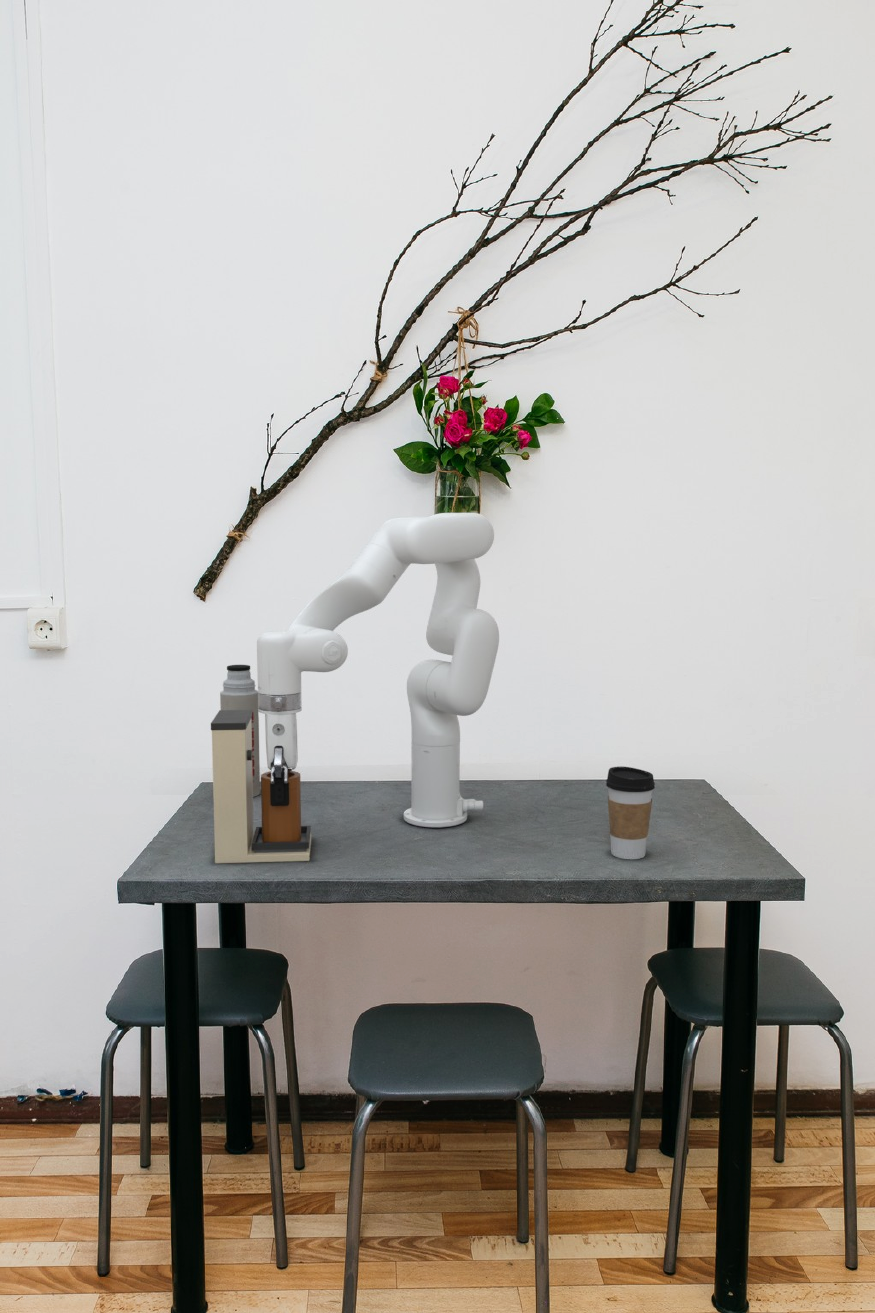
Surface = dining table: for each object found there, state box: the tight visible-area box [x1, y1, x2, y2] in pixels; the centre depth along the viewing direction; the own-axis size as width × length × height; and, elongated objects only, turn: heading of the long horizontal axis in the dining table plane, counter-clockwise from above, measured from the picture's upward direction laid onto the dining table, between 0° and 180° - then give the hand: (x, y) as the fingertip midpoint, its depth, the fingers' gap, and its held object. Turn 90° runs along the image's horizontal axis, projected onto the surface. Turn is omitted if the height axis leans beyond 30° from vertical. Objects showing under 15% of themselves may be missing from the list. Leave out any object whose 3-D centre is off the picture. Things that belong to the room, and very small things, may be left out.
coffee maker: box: [210, 709, 312, 864], centre depth 174 cm, size 16×12×24 cm
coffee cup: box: [605, 765, 656, 860], centre depth 174 cm, size 8×8×15 cm
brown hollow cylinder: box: [260, 770, 302, 842], centre depth 175 cm, size 7×7×12 cm
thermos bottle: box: [219, 664, 261, 798], centre depth 212 cm, size 8×8×28 cm
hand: (281, 797), depth 175 cm, fingers open, 9 cm apart
